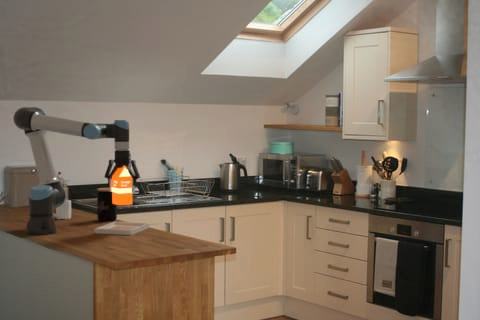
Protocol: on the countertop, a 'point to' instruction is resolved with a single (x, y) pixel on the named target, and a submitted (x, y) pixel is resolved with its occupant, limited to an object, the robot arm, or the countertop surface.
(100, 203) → the coffee jar
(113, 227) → the tray
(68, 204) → the mug
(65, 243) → the countertop surface
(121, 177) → the orange juice
